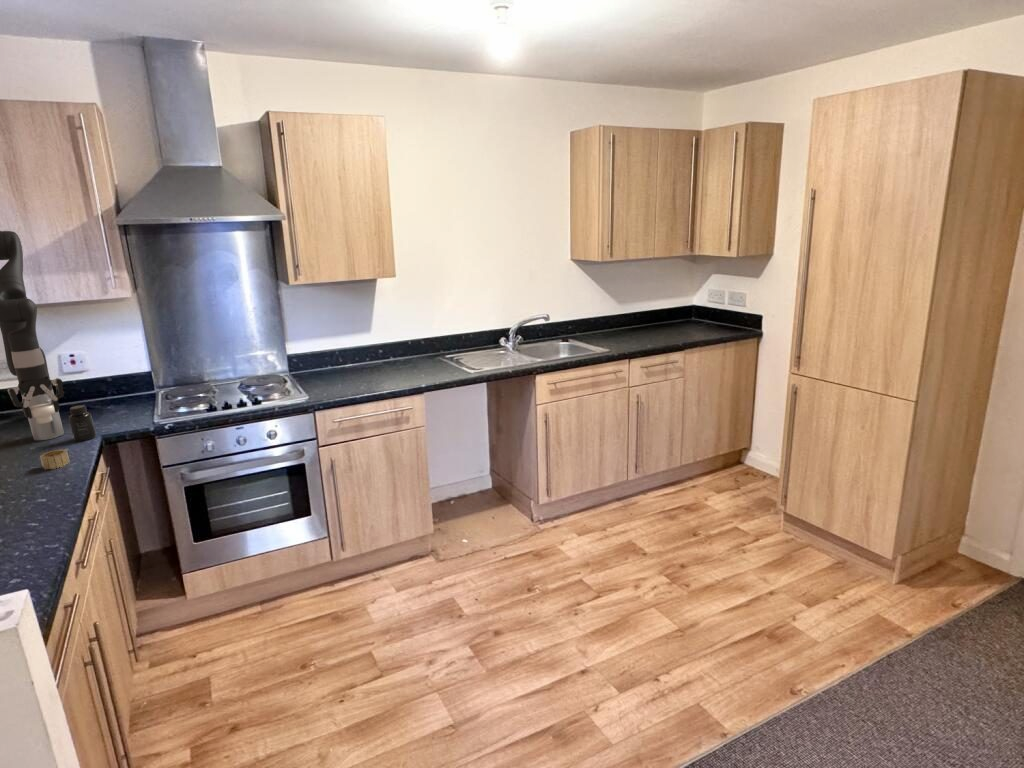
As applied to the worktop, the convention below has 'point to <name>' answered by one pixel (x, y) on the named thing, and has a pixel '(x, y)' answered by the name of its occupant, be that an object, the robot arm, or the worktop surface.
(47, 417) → the cap
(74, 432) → the supplement bottle
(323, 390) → the worktop surface
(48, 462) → the wooden slatted bowl
